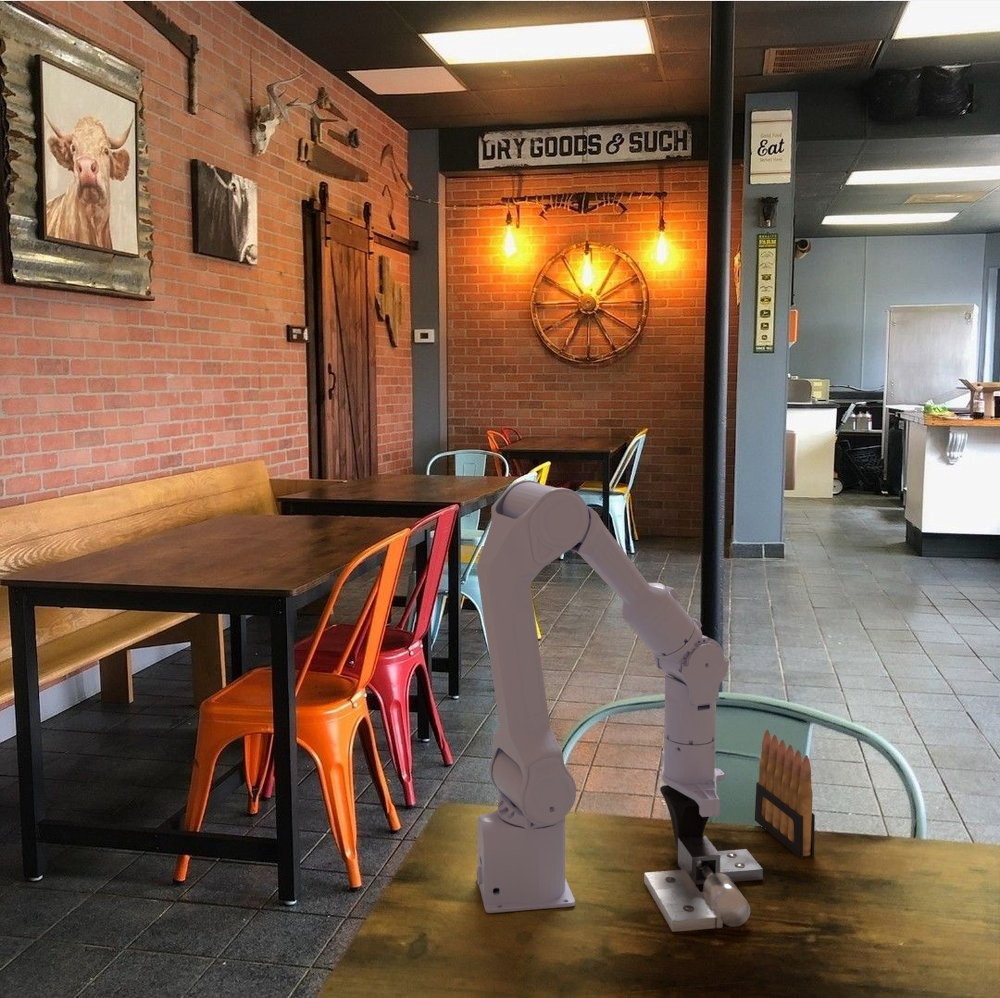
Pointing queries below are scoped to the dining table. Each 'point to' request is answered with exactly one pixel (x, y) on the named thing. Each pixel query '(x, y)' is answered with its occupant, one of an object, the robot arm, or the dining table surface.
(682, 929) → the fixed leaf
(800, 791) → the ammunition clip
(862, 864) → the dining table surface
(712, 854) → the loose leaf
